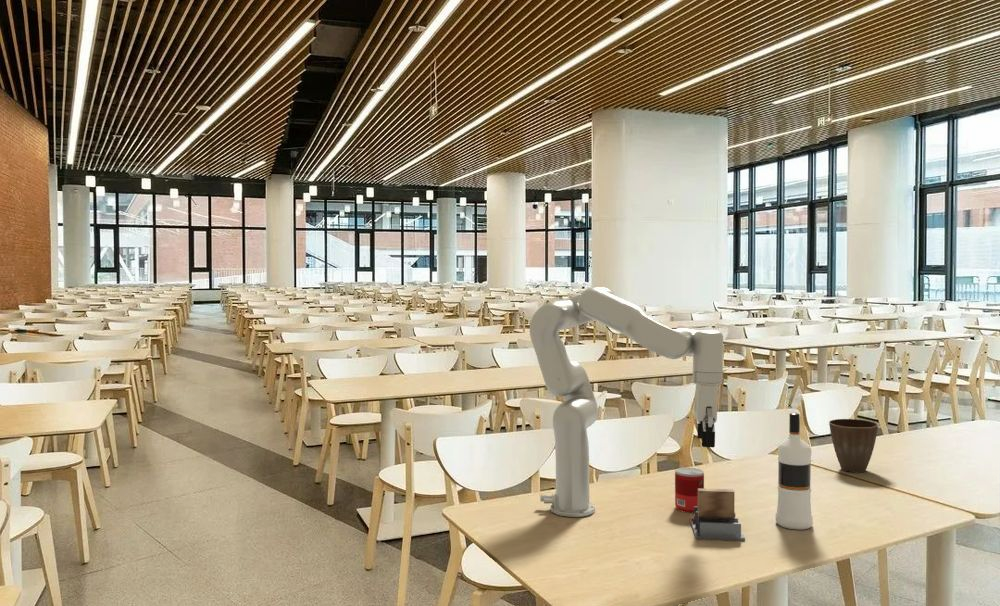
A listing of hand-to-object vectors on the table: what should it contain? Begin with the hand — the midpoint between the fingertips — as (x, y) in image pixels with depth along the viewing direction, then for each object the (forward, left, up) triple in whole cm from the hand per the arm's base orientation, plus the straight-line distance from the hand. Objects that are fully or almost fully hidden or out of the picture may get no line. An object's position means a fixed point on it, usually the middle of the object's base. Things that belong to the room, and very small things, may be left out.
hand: (705, 442), depth 199 cm
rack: (+3, -2, -23) cm, 23 cm away
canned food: (-2, +16, -23) cm, 28 cm away
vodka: (+24, +5, -23) cm, 33 cm away
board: (+2, -2, -22) cm, 22 cm away
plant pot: (+57, +64, -23) cm, 89 cm away
